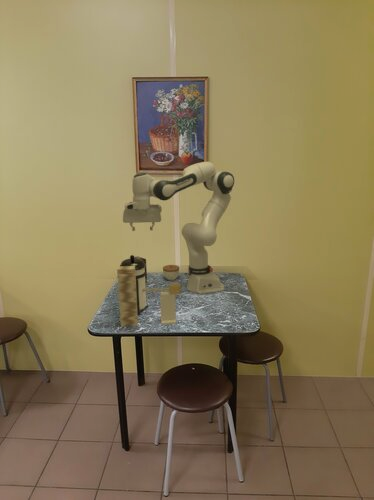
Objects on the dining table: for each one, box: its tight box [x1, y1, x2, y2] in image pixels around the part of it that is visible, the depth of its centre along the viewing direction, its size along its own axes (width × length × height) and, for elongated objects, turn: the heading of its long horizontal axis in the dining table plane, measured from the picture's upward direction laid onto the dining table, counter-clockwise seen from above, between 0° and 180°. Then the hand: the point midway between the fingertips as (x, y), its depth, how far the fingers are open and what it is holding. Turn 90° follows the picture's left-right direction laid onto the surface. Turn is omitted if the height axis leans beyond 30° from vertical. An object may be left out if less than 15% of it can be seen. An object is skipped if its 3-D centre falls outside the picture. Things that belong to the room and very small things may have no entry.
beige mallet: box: [142, 282, 181, 295], centre depth 170 cm, size 18×4×4 cm, turn 97°
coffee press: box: [119, 254, 149, 316], centre depth 182 cm, size 17×16×30 cm
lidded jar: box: [162, 264, 180, 281], centre depth 229 cm, size 11×11×9 cm
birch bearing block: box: [116, 266, 139, 327], centre depth 169 cm, size 8×6×28 cm
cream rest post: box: [159, 291, 177, 326], centre depth 174 cm, size 7×8×15 cm
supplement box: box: [134, 255, 148, 283], centre depth 223 cm, size 9×5×16 cm, turn 45°
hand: (142, 230), depth 191 cm, fingers open, 8 cm apart
